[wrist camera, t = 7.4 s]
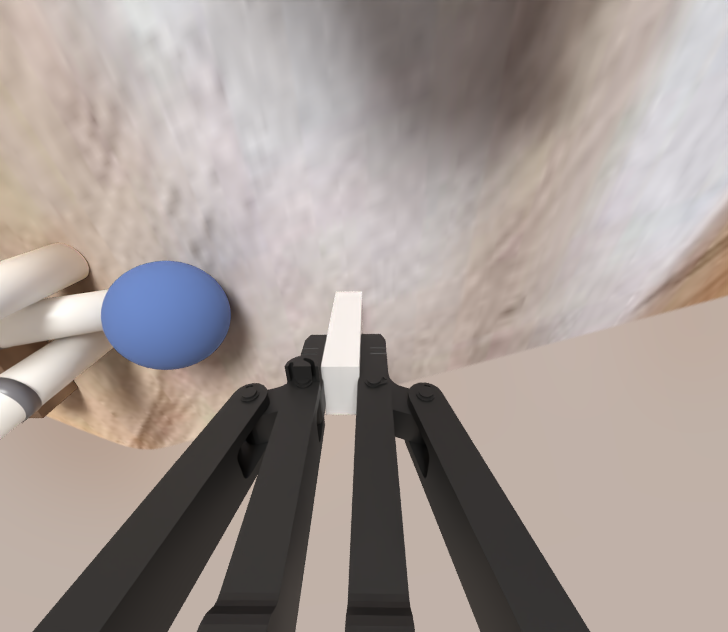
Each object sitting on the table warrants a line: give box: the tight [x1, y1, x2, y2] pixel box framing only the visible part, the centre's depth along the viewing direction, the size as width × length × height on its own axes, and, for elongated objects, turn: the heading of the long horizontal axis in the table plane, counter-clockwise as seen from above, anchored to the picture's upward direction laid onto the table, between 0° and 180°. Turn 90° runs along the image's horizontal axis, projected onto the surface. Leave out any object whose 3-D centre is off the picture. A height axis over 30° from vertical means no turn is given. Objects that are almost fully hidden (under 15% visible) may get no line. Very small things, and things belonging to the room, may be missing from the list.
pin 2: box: [0, 331, 113, 439], centre depth 17 cm, size 2×2×8 cm
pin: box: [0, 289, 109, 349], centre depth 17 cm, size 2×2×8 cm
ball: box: [101, 261, 231, 370], centre depth 17 cm, size 6×6×6 cm
